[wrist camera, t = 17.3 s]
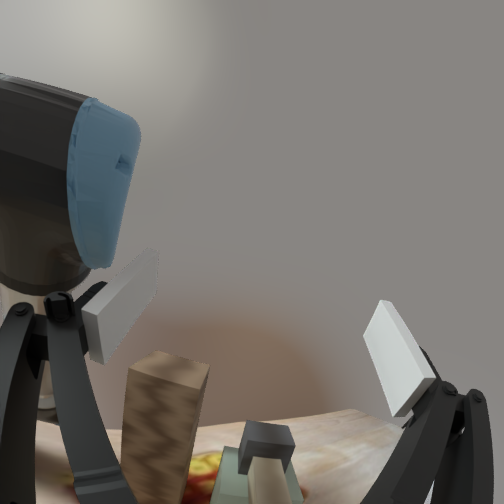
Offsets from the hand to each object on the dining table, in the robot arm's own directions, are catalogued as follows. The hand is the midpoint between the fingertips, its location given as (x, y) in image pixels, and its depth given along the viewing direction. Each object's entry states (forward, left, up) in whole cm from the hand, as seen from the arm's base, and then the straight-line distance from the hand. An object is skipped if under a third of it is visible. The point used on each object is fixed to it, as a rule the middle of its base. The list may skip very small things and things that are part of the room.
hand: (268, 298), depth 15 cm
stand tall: (-9, +26, -44) cm, 51 cm away
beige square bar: (+6, +10, -24) cm, 26 cm away
